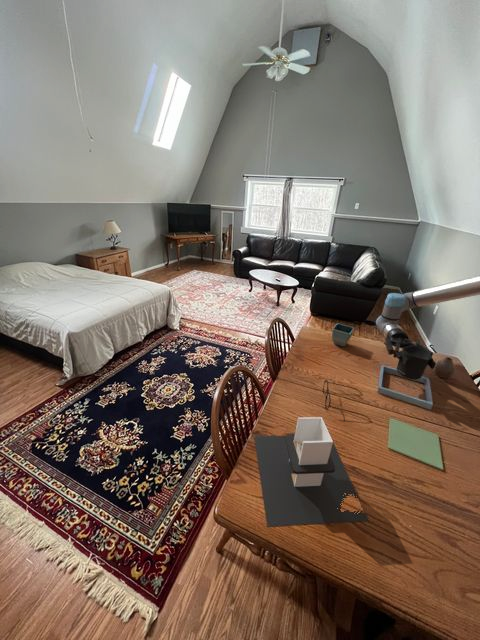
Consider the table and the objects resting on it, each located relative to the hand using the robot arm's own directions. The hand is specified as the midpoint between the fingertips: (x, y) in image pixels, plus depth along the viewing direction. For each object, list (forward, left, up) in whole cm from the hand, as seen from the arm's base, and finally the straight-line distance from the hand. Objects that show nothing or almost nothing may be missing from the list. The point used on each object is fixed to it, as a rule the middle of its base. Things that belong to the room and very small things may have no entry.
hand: (420, 364), depth 98 cm
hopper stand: (+26, +53, -15) cm, 60 cm away
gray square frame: (+2, -4, -15) cm, 15 cm away
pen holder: (+2, -4, -7) cm, 9 cm away
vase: (-13, -23, -15) cm, 31 cm away
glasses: (+21, +18, -15) cm, 31 cm away
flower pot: (+31, -27, -15) cm, 44 cm away
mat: (-1, +25, -15) cm, 29 cm away
